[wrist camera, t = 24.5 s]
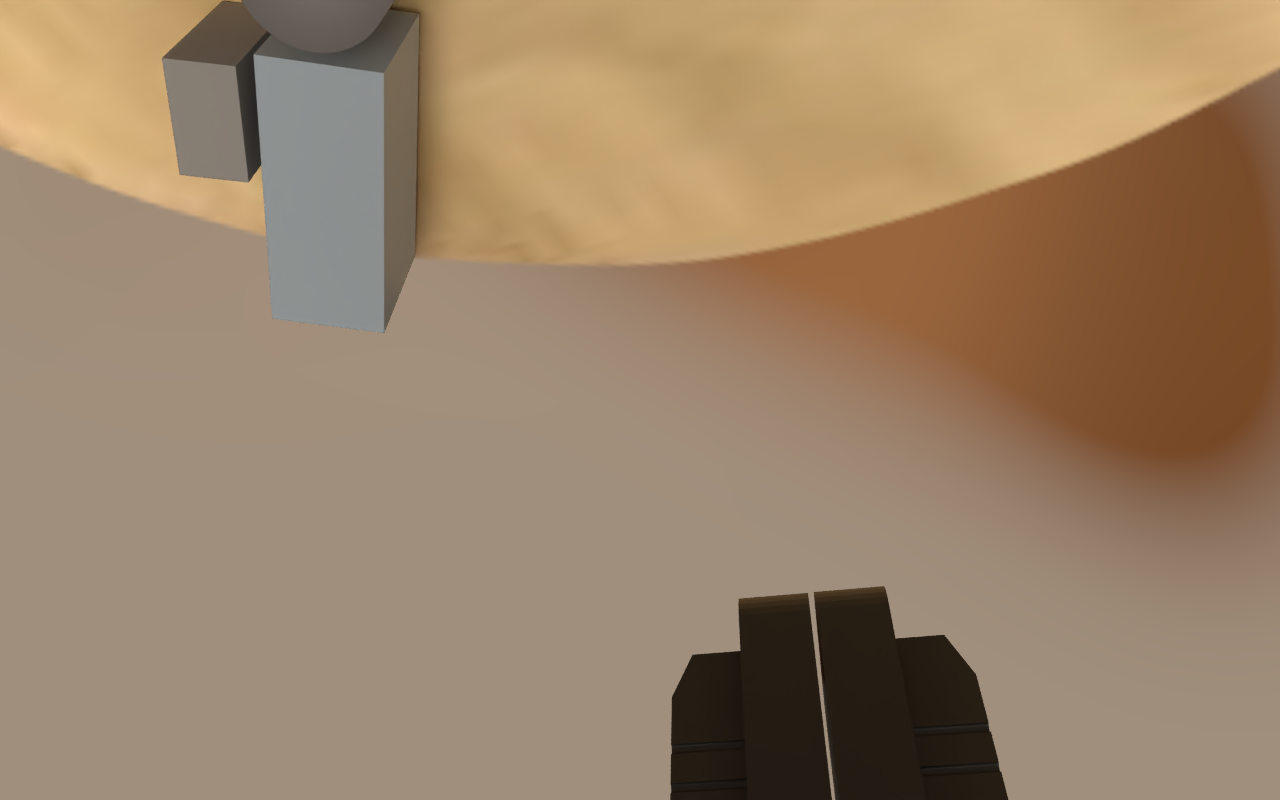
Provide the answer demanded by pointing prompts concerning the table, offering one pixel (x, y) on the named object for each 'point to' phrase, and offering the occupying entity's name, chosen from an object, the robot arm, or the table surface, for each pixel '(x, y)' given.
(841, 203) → the table surface
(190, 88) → the block
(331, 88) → the hinged leg
